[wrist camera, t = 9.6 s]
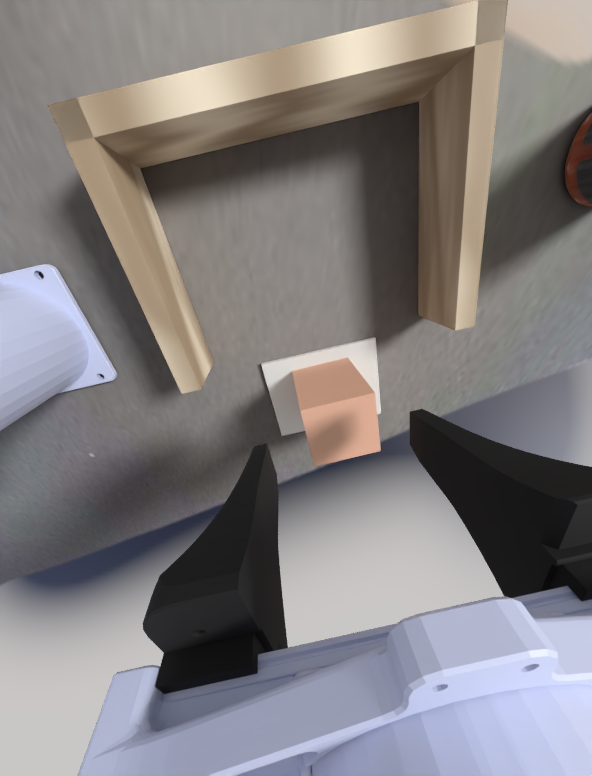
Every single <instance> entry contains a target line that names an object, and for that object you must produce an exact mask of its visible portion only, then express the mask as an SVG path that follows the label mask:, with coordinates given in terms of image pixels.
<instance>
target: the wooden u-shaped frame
mask: <svg viewBox="0 0 592 776" xmlns="http://www.w3.org/2000/svg"><path fill="white" fill-rule="evenodd" d="M507 5H508V0H478V1H474V2H470V3H465V4H461V5H457V6H453V7H449V8H445V9H441V10H437V11H432V12H428V13H424V14H420V15H416V16H412V17H408V18H404V19H400V20H395V21H391V22H387V23H383V24H379V25H375V26H371V27H367V28H362V29H358V30H354V31H350V32H346V33H342V34H338V35H334V36H330V37H325V38H321V39H317V40H313V41H309V42H305V43H301V44H297V45H292V46H288V47H284V48H280V49H276V50H272V51H268V52H264V53H259V54H255V55H251V56H247V57H243V58H239V59H235V60H231V61H227V62H222V63H218V64H214V65H210V66H206V67H202V68H198V69H194V70H189V71H185V72H181V73H177V74H173V75H169V76H165V77H161V78H157V79H152V80H148V81H144V82H140V83H136V84H132V85H128V86H124V87H119V88H115V89H111V90H107V91H103V92H99V93H95V94H91V95H87V96H82V97H78V98H74V99H70V100H66V101H62V102H58V103H54V104H49V105H47V106H48V108H49V110H50V112H51V114H52V116H53V118H54V121H55V123H56V125H57V127H58V129H59V131H60V133H61V136H62V138H63V140H64V142H65V144H66V146H67V148H68V151H69V153H70V155H71V157H72V159H73V161H74V164H75V166H76V168H77V170H78V172H79V174H80V176H81V179H82V181H83V183H84V185H85V187H86V189H87V191H88V194H89V196H90V198H91V200H92V202H93V204H94V206H95V209H96V211H97V213H98V215H99V217H100V219H101V222H102V224H103V226H104V228H105V230H106V232H107V234H108V237H109V239H110V241H111V243H112V245H113V247H114V249H115V252H116V254H117V256H118V258H119V260H120V262H121V264H122V267H123V269H124V271H125V273H126V275H127V277H128V280H129V282H130V284H131V286H132V288H133V290H134V292H135V295H136V297H137V299H138V301H139V303H140V305H141V307H142V310H143V312H144V314H145V316H146V318H147V320H148V323H149V325H150V327H151V329H152V331H153V333H154V335H155V338H156V340H157V342H158V344H159V346H160V348H161V350H162V353H163V355H164V357H165V359H166V361H167V363H168V365H169V368H170V370H171V372H172V374H173V376H174V378H175V381H176V383H177V385H178V387H179V389H180V391H181V393H182V394H183V393H187V392H192V391H196V390H200V389H201V388H202V386H203V383H204V381H205V379H206V377H207V375H208V373H209V371H210V369H211V367H212V365H213V363H214V362H213V360H212V357H211V354H210V352H209V349H208V347H207V344H206V341H205V339H204V336H203V333H202V331H201V328H200V325H199V323H198V320H197V318H196V315H195V312H194V310H193V307H192V304H191V302H190V299H189V296H188V294H187V291H186V288H185V286H184V283H183V281H182V278H181V275H180V273H179V270H178V267H177V265H176V262H175V259H174V257H173V254H172V251H171V249H170V246H169V244H168V241H167V238H166V236H165V233H164V230H163V228H162V225H161V222H160V220H159V217H158V214H157V212H156V209H155V207H154V204H153V201H152V199H151V196H150V193H149V191H148V188H147V185H146V183H145V180H144V177H143V175H142V172H141V170H140V168H144V167H148V166H152V165H156V164H161V163H165V162H169V161H173V160H177V159H182V158H186V157H190V156H194V155H198V154H202V153H207V152H211V151H215V150H219V149H223V148H227V147H232V146H236V145H240V144H244V143H248V142H252V141H257V140H261V139H265V138H269V137H273V136H277V135H282V134H286V133H290V132H294V131H298V130H303V129H307V128H311V127H315V126H319V125H323V124H328V123H332V122H336V121H340V120H344V119H348V118H353V117H357V116H361V115H365V114H369V113H373V112H378V111H382V110H386V109H390V108H394V107H398V106H403V105H407V104H411V103H415V102H419V273H418V315H419V316H421V317H423V318H426V319H428V320H431V321H433V322H436V323H438V324H440V325H443V326H445V327H448V328H450V329H453V330H460V329H464V328H468V327H473V326H475V317H476V307H477V297H478V287H479V278H480V268H481V258H482V248H483V239H484V229H485V219H486V210H487V200H488V190H489V180H490V171H491V161H492V151H493V142H494V132H495V122H496V112H497V103H498V93H499V83H500V73H501V64H502V54H503V44H504V35H505V25H506V15H507Z"/></svg>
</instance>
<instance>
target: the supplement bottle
mask: <svg viewBox="0 0 592 776" xmlns="http://www.w3.org/2000/svg"><path fill="white" fill-rule="evenodd" d="M565 183H566V186H567V189H568V192H569V194H570V196H571V197H572V198H573V199H574V200H575V201H576V202H577V203H579V204H581V205H584V206H592V112H591V113H590V114H589V115H588V117H587V118H586V119H585V121H584V122H583V123H582V125H581V126H580V128H579V130H578V131H577V133H576V135H575V137H574V139H573V142H572V145H571V147H570V150H569V153H568V156H567V161H566V166H565Z"/></svg>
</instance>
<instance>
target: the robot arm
mask: <svg viewBox="0 0 592 776" xmlns="http://www.w3.org/2000/svg"><path fill="white" fill-rule="evenodd" d="M39 271H40V272H42V274H43V275H44V279H42V278H41V277H40V276H39ZM100 374H103V375H104V378H103V377H101V376H100ZM116 377H117V373H116V371H115V369H114V367H113V366H112V364H111V362H110V360H109V359H108V357H107V355H106V353H105V351H104V350H103V348H102V346H101V344H100V343H99V341H98V339H97V337H96V336H95V334H94V332H93V330H92V329H91V327H90V325H89V323H88V322H87V320H86V318H85V316H84V315H83V313H82V311H81V309H80V308H79V306H78V304H77V302H76V301H75V299H74V297H73V295H72V294H71V292H70V290H69V288H68V287H67V285H66V283H65V281H64V280H63V278H62V276H61V274H60V273H59V271H58V270H57V268H55V267H54V266H52V265H50V264H45V265H38V266H34V267H30V268H26V269H22V270H17V271H13V272H9V273H5V274H0V431H1V430H2V429H4V428H5V427H7V426H9V425H10V424H12V423H13V422H15V421H16V420H18V419H19V418H21V417H22V416H24V415H25V414H27V413H28V412H30V411H31V410H33V409H34V408H36V407H37V406H39V405H40V404H42V403H43V402H45V401H46V400H48V399H49V398H51V397H52V396H54V395H55V394H57V393H62V392H66V391H70V390H75V389H79V388H83V387H88V386H92V385H96V384H101V383H105V382H109V381H112V380H114V379H115V378H116ZM410 445H411V447H412V449H413V451H414V452H415V454H416V456H417V458H418V459H419V461H420V463H421V464H422V465H423V467H424V468H425V469H426V470H427V472H428V473H429V475H430V476H431V477H432V479H433V480H434V481H435V483H436V484H437V485H438V486H439V488H440V489H441V490H442V491H443V493H444V494H445V496H446V497H447V498H448V500H449V501H450V502H451V504H452V505H453V507H454V508H455V510H456V511H457V513H458V515H459V516H460V518H461V519H462V521H463V523H464V524H465V526H466V527H467V529H468V531H469V533H470V534H471V536H472V538H473V539H474V541H475V543H476V545H477V546H478V548H479V550H480V552H481V553H482V555H483V557H484V559H485V561H486V562H487V564H488V566H489V568H490V570H491V571H492V573H493V575H494V577H495V579H496V581H497V583H498V585H499V587H500V589H501V591H502V592H503V594H504V597H493V598H488V599H483V600H479V601H474V602H470V603H465V604H461V605H456V606H452V607H447V608H443V609H438V610H434V611H429V612H425V613H420V614H416V615H414V616H411V617H408V618H405V619H403V620H401V621H400V622H398V623H397V624H393V625H388V626H384V627H379V628H375V629H370V630H366V631H361V632H357V633H353V634H348V635H343V636H339V637H335V638H330V639H325V640H321V641H316V642H312V643H308V644H303V645H299V646H294V647H289V648H288V646H287V638H286V628H285V619H284V609H283V599H282V588H281V578H280V566H279V554H278V484H277V475H276V471H275V468H274V465H273V461H272V458H271V455H270V452H269V449H268V446H267V444H263V445H258V446H255V447H254V448H253V450H252V453H251V455H250V458H249V460H248V462H247V464H246V466H245V468H244V470H243V472H242V474H241V476H240V478H239V480H238V482H237V484H236V486H235V487H234V489H233V491H232V493H231V494H230V496H229V498H228V499H227V501H226V502H225V504H224V505H223V507H222V508H221V510H220V511H219V513H218V514H217V515H216V516H215V518H214V519H213V520H212V522H211V523H210V524H209V526H208V527H207V528H206V529H205V531H204V532H203V533H202V534H201V535H200V536H199V537H198V539H197V540H196V541H195V542H194V543H193V544H192V545H191V546H190V547H189V548H188V549H187V550H186V551H185V552H184V554H182V555H181V556H180V557H179V558H178V559H177V560H176V561H175V562H174V563H173V564H172V565H171V566H170V567H169V568H168V569H167V570H166V571H164V572H163V573H162V574H161V575H160V577H159V579H158V582H157V584H156V586H155V589H154V591H153V594H152V597H151V600H150V603H149V606H148V609H147V612H146V615H145V618H144V621H143V630H144V631H145V633H146V634H147V636H148V637H149V638H150V639H151V640H152V641H153V642H154V643H155V644H156V645H157V646H158V647H159V648H160V649H161V650H162V651H163V652H164V656H163V659H162V663H161V667H159V666H155V665H150V666H144V667H139V668H135V669H130V670H126V671H121V672H117V673H116V674H115V675H114V676H113V679H112V682H111V684H110V687H109V690H108V693H107V695H106V698H105V701H104V704H103V706H102V709H101V712H100V715H99V718H98V720H97V723H96V726H95V729H94V731H93V734H92V737H91V740H90V742H89V745H88V748H87V751H86V753H85V756H84V759H83V762H82V765H81V767H80V770H79V773H78V776H592V467H589V466H583V465H578V464H573V463H569V462H564V461H559V460H555V459H551V458H547V457H543V456H539V455H536V454H532V453H528V452H524V451H522V450H518V449H515V448H512V447H509V446H506V445H503V444H500V443H497V442H494V441H492V440H489V439H487V438H484V437H482V436H479V435H477V434H474V433H472V432H470V431H467V430H465V429H463V428H461V427H459V426H457V425H454V424H452V423H450V422H448V421H446V420H444V419H442V418H440V417H438V416H436V415H434V414H432V413H430V412H428V411H425V410H423V409H420V410H415V411H411V412H410Z"/></svg>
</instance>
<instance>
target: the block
mask: <svg viewBox="0 0 592 776" xmlns="http://www.w3.org/2000/svg"><path fill="white" fill-rule="evenodd" d="M292 373H293V378H294V383H295V388H296V392H297V397H298V402H299V407H300V411H301V415H302V419H303V423H304V427H305V431H306V435H307V439H308V443H309V447H310V451H311V455H312V459H313V463H314V466H319V465H323V464H328V463H332V462H336V461H340V460H344V459H348V458H353V457H357V456H361V455H365V454H369V453H374V452H377V451H381V449H380V439H379V428H378V418H377V408H376V397H375V392H374V391H373V389H372V388H371V387H370V386H369V384H368V383H367V382H366V380H365V379H364V378H363V376H362V375H361V374H360V373H359V371H358V370H357V369H356V367H355V366H354V365H353V364H352V362H351V361H350V360H349V358H348V357H347V358H343V359H339V360H335V361H331V362H327V363H323V364H319V365H315V366H310V367H306V368H302V369H298V370H294V371H292Z"/></svg>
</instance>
